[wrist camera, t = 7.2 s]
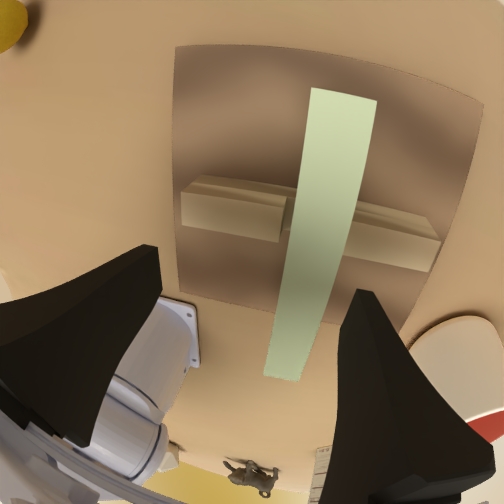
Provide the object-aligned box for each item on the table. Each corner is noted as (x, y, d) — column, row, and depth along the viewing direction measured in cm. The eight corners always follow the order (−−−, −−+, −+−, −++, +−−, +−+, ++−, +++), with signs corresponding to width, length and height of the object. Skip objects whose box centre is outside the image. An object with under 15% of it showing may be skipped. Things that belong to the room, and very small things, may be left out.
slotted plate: (308, 300, 21) (298, 381, 15) (281, 295, 21) (263, 375, 15) (352, 95, 13) (377, 101, 7) (314, 88, 13) (311, 87, 7)
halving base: (396, 325, 21) (402, 363, 18) (184, 284, 24) (164, 316, 21) (476, 102, 11) (511, 111, 8) (183, 48, 14) (148, 42, 11)
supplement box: (376, 449, 36) (371, 516, 26) (340, 458, 40) (331, 519, 30) (354, 438, 34) (346, 514, 24) (315, 447, 38) (303, 516, 28)
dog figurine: (284, 469, 49) (278, 499, 43) (268, 472, 52) (261, 499, 46) (237, 453, 47) (227, 485, 41) (223, 456, 50) (214, 485, 44)
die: (143, 430, 55) (144, 465, 51) (140, 440, 47) (142, 477, 44) (177, 433, 57) (178, 467, 54) (179, 443, 49) (180, 480, 46)
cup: (509, 319, 18) (542, 405, 10) (452, 381, 24) (464, 459, 16) (441, 296, 19) (473, 406, 11) (382, 369, 25) (385, 463, 17)
